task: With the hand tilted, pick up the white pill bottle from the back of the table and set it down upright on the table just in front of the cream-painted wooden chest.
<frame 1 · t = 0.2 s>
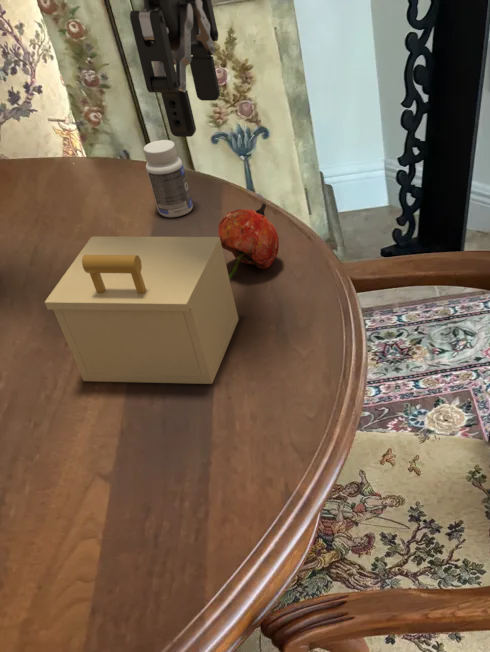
hand: (197, 116, 75), 20 cm above the table, tool pointing down, fingers open, 8 cm apart
chest lid: (131, 254, 76), point 11 cm above the table, hinge at 0.0°
chest: (164, 349, 85), on the table
pill bottle: (176, 211, 107), on the table
pomegranate: (252, 269, 95), on the table
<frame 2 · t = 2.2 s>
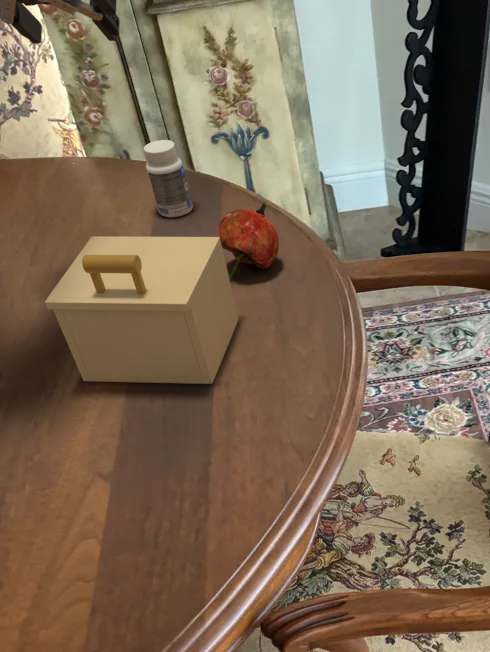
hand: (76, 33, 81), 24 cm above the table, tool tilted 45°, fingers open, 8 cm apart
nothing on the table moved.
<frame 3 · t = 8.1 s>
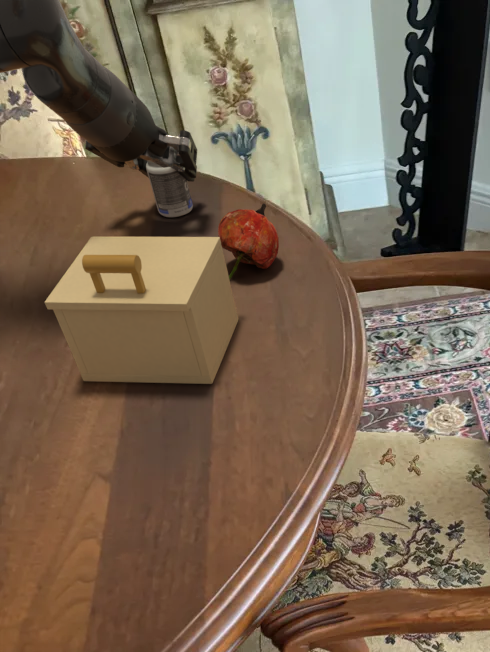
hand: (173, 173, 105), 4 cm above the table, tool tilted 45°, fingers closed on pill bottle, 4 cm apart
pill bottle: (176, 211, 107), on the table, touching gripper
everything else where it was.
when the fingers open (4 cm above the table, at t = 22.3 s): pill bottle stays where it is, on the table.
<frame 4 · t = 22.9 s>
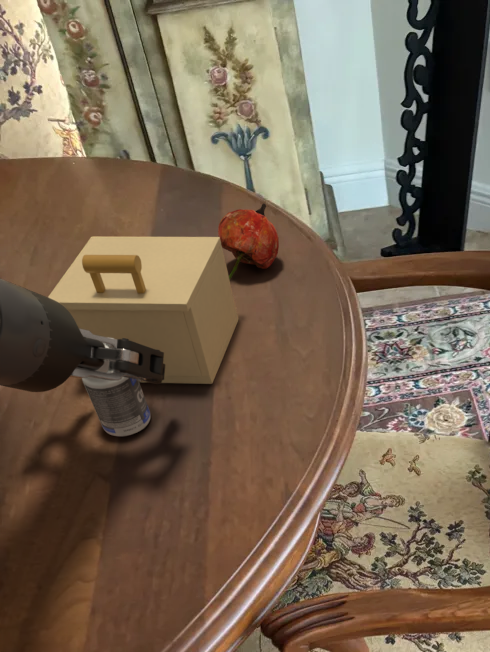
hand: (117, 368, 74), 5 cm above the table, tool tilted 45°, fingers open, 8 cm apart
pill bottle: (128, 423, 77), on the table
everything else where it was.
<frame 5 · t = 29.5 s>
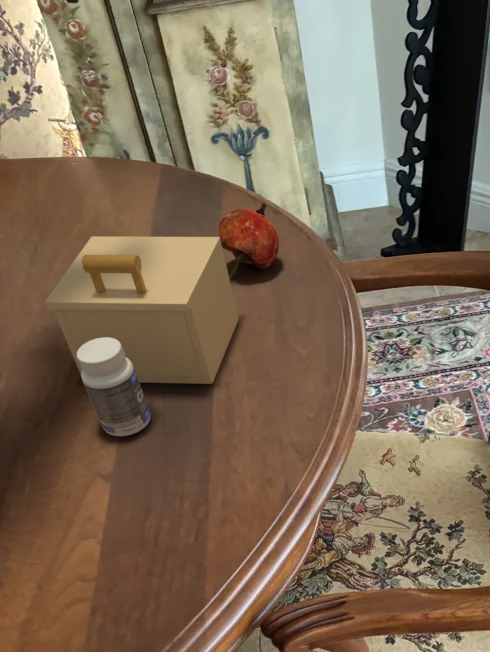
nothing on the table moved.
at the end: pill bottle inside the target area on the table beside the chest (0.2 cm from its centre), on the table; pill bottle tilted 0°; the gripper is holding nothing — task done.
